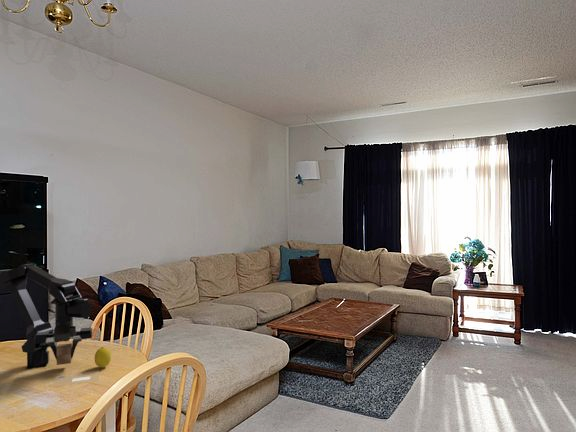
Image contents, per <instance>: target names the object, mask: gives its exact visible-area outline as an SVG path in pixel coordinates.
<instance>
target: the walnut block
mask: <svg viewBox="0 0 576 432" xmlns="http://www.w3.org/2000/svg"><path fill="white" fill-rule="evenodd" d="M71 351H72V343H62V344H57V360H56V365H57V366H60V365H68V364H69V365H70V364H71V363H72V360H73V357H72V358H71Z"/></svg>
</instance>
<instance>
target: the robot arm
mask: <svg viewBox="0 0 576 432" xmlns="http://www.w3.org/2000/svg"><path fill="white" fill-rule="evenodd" d="M27 279H30V280H32V281H34V282H35V283H37V284H39V285H40V286H42V287H44V288H46V289H47V292H48V293H49V295H50V296H52V297H53V299H52V300H51V301H50V303H49V304H51V305H54V306H55V307H54V310H55V311H54V312H55V313H54V316H55V318H54V319H55V323H54V324H55V326H54V328H53V327H52V325H51V323H50V322H49V321H47V322H44V321H43V320H42V319H41V317H40V315H39V313H38V310H37V308H36V306H35V304H34V302H33V300H32V298H31V295H30V294H29V292H28V290H27V283H28V280H27ZM0 286H1V287H2V289H3V290H4V291H6V292H8V293H9V294H10V295H11V296H12V298H13V300H14V303H15V304H16V306H17V309H18V311H19V312H20V315H21V317H22V319H23V322H24V323H25V325H26V333H25V337H26V339H27V340H26V341H25V342H24V343H23V345H22V346H21V349H22V351H21V352H23V353H26V367H25V370H29V369H30V370H31V369H38V368H39V369H41V368H45V367H47V365H49V362H50V351H49V350H48V348H51V350H52V351H51V352H52V353H53V355H54V358H55V361H57V346H58V344H57V343H59V342H65V343H66V342H69V341H70V339H71V338H72V351H71V358H72V359H73V357H74V354H75V350H76V347H77V345H78V343H79V342H82V341H83V340H89V339H92V338H93V334H94V331H93V329H94V328H92V327H82V328H80V330H78V331H77V327H76V325H74V318H77V319H78V318H79V319H88V318H89V317H90V316H92V313H93V306H92V304H91V303H90V302H89V298H83V296H82V294H81V293H80V292H79V290H78V288H77V287H76V284H75V282H74V281H72V280H70V279H69V280H68V279H65V278H60V277H59V278H58V277H56V276H55V275H52V274H50V273H49V272H47V271H45V270H44V269H41V268H40V267H38V266H37V265H36V264H34V263H25V264H21V265H19V266H17V267H14V268H12V269H7V270H2V271H1V272H0Z"/></svg>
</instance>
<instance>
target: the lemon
mask: <svg viewBox="0 0 576 432" xmlns="http://www.w3.org/2000/svg"><path fill="white" fill-rule="evenodd" d="M111 354H112V353H111V352H110V350H109V348H107V347H105V346H101V347H100V348H98V349H97V350H96V351H95V353H94V364H95V365H96V366H97V367H99V368H101V369H105V367H107V366H108V365H109V364H110V362H111V359H112V355H111Z"/></svg>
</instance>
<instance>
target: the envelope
mask: <svg viewBox="0 0 576 432" xmlns="http://www.w3.org/2000/svg"><path fill="white" fill-rule="evenodd" d="M99 377H100V370H94V371H88V372H87V371H85V372H78V373H70V374H63V375H56V376H55V378H54V380H53V383H52V385H51V387H52V388H55V387H62V386H71V385H78V384H85V383H91V382H99V379H100V378H99Z"/></svg>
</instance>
